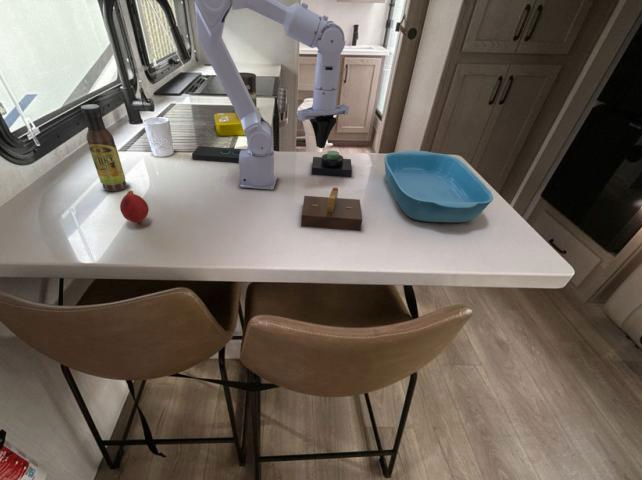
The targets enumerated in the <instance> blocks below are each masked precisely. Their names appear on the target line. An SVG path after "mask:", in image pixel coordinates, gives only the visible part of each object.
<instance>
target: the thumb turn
mask: <svg viewBox="0 0 642 480" xmlns="http://www.w3.org/2000/svg"><path fill="white" fill-rule="evenodd" d="M338 196H339V188H338V187H335V186H334V187H333V188H332V189H331V192H330V194H329V195H328V197H329V198H328V207H327V212H333V210H334V208H335V205H336V203H337V198H339V197H338Z"/></svg>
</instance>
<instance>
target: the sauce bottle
mask: <svg viewBox="0 0 642 480" xmlns="http://www.w3.org/2000/svg"><path fill="white" fill-rule="evenodd" d="M80 110H81V113H82V115H83V117H84V120H85V123H86V127H87V132H86V141H87V144H88V150H89V153H90V155H91V158H92V161H93V164H94V167H95V169H96V172H97V176H98V178H99V181H100V184H101V185H102V188H103V189H104V190H105V191H109V192H119V191H122V190H124V189H126V188H127V182H126V175H125V173H124V169H123V165H122V162H121V158H120V155H119V152H118V151H119V150H118V148H117V145H116V143H115V139H114V136H113V134H112V133H111V132H110V130H109V129H108V128H106V125H105V123H104V118H103V116H102V110H101V106H100V105H98V104H95V103H92V104H90V103H89V104H83V105H81V106H80Z"/></svg>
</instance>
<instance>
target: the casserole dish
mask: <svg viewBox="0 0 642 480" xmlns="http://www.w3.org/2000/svg"><path fill="white" fill-rule="evenodd" d="M384 171H385V179H386V181H387V184H388V186H389V188H390V190H391V193H392V195H393V196H394V198H395V200H396V202H397V204H398V206H399V207H400V209H401V210H402V211H403V213H404V214H405V215H406V216H408V217H409V218H411V219H412V220H415V221H418V222H426V223H427V222H428V223H465V222H469V221H472V220H473V219H476V218H477V217H478V216H480V214H481V213H483V212H484V210H485V209H486V208H487V207H488V206H489V205H490V204H491V203H492V202H493V200H494V195H493V193H492V191H491V190H490V189H489V188H488V187H487V186H486V184H485V183H483V181H482V180H480V178H479V177H477V175H476V174H475V173H474V172H473V171H472V170H471V169H470V168H469V167H468V166H467V165H466V164H465V163H464V162H463V161H461V160H460V159H458V158H457V157H455V156H452V155H449V154H446V153H445V154H444V153H438V152H432V151H425V150H403V151H402V150H401V151H394V152H389V153H387V154H386V155H385V156H384Z"/></svg>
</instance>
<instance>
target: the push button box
mask: <svg viewBox="0 0 642 480" xmlns="http://www.w3.org/2000/svg"><path fill="white" fill-rule="evenodd" d="M352 171H353V166H352V158H344V156H342V155H341V154H339V158H338V159H337V160H330V159H327V153H324V154H322V155H321V156H313V157H312V163H311V173H310V174H311V176H325V177H340V178H352V174H353V173H352Z"/></svg>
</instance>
